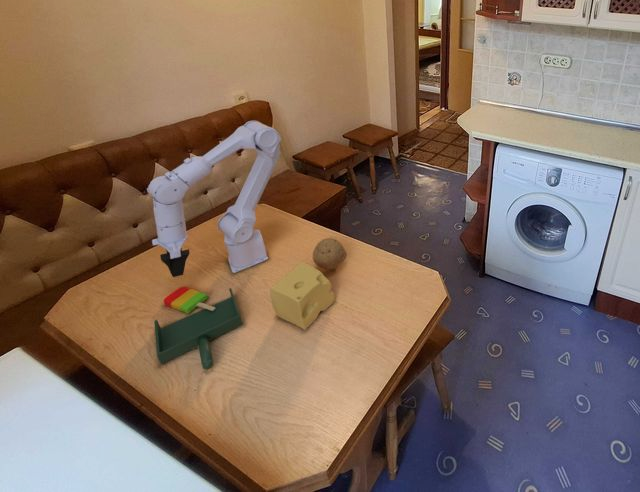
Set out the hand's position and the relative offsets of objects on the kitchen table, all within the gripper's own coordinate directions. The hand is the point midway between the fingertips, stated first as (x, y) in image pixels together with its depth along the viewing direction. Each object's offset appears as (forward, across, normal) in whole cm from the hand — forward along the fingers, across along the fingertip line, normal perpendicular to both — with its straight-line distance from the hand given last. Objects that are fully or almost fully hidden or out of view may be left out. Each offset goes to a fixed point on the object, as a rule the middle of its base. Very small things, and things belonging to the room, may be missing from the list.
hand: (176, 267), depth 94 cm
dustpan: (+9, +20, +3) cm, 22 cm away
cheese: (+6, +26, +24) cm, 36 cm away
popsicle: (+9, +6, +2) cm, 11 cm away
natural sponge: (+4, +15, +35) cm, 39 cm away
